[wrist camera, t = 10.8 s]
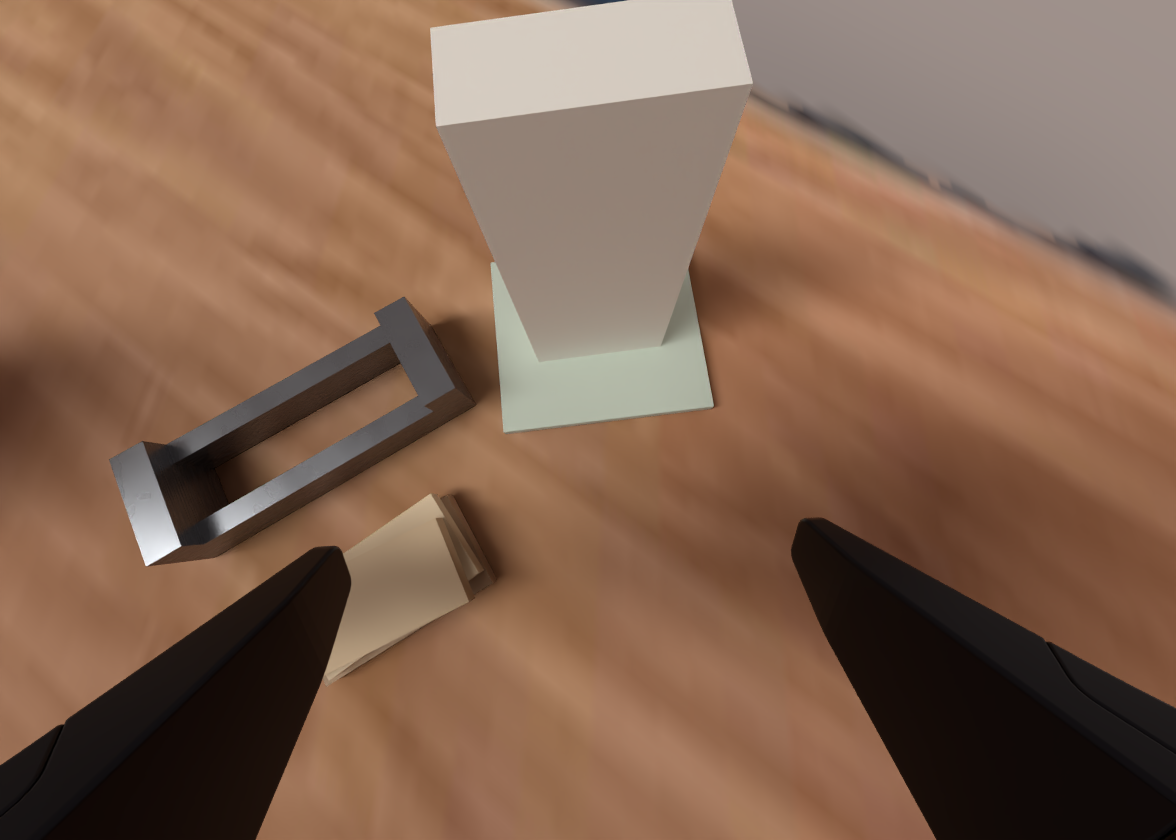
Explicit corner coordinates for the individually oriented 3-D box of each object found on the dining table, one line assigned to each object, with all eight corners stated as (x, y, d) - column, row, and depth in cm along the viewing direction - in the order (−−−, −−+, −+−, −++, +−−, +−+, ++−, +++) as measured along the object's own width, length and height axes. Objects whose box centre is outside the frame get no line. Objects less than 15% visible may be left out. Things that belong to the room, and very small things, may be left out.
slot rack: (475, 405, 21) (455, 387, 18) (214, 558, 20) (146, 566, 17) (430, 325, 22) (404, 296, 19) (178, 466, 21) (108, 459, 18)
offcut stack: (498, 582, 19) (484, 592, 17) (333, 685, 18) (294, 710, 16) (450, 491, 20) (430, 488, 18) (292, 585, 19) (249, 596, 17)
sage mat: (711, 408, 20) (713, 406, 20) (506, 434, 20) (503, 432, 20) (680, 244, 22) (682, 238, 22) (492, 268, 22) (490, 262, 22)
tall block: (660, 346, 21) (752, 83, 8) (538, 362, 21) (436, 126, 8) (653, 301, 21) (728, -14, 8) (534, 317, 21) (430, 28, 8)
